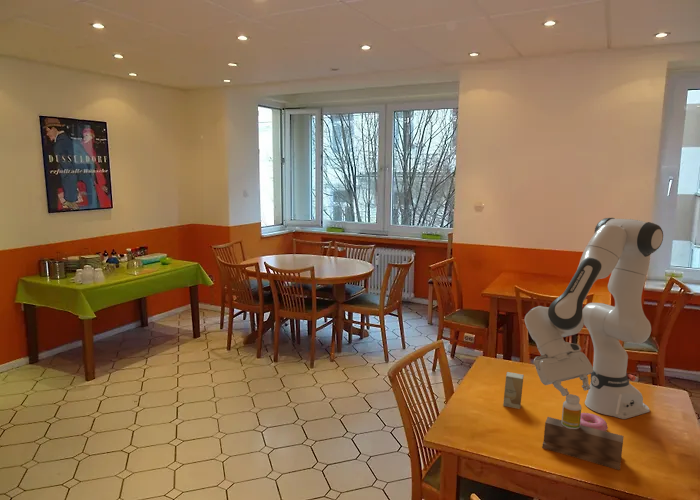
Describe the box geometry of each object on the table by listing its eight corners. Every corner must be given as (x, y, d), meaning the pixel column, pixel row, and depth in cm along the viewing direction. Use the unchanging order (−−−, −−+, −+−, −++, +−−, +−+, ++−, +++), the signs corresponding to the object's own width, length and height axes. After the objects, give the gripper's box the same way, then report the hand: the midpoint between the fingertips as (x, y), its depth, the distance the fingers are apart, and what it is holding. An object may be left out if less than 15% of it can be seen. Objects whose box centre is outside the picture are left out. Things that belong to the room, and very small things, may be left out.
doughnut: (588, 439, 162) (589, 428, 162) (565, 423, 173) (566, 412, 172) (614, 435, 165) (615, 423, 165) (590, 419, 176) (591, 408, 175)
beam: (542, 447, 157) (544, 424, 155) (546, 436, 164) (548, 414, 162) (619, 470, 145) (622, 445, 144) (621, 457, 152) (623, 433, 151)
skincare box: (503, 406, 184) (505, 375, 182) (504, 401, 188) (506, 371, 186) (520, 409, 182) (523, 378, 180) (521, 404, 186) (523, 374, 184)
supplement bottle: (582, 430, 152) (584, 401, 151) (563, 429, 153) (566, 399, 152) (577, 422, 157) (579, 393, 156) (559, 420, 158) (561, 392, 157)
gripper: (536, 353, 156) (559, 394, 148) (583, 344, 164) (606, 382, 157) (525, 361, 160) (546, 402, 153) (571, 352, 169) (593, 390, 161)
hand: (577, 392), depth 155 cm, fingers open, 8 cm apart
